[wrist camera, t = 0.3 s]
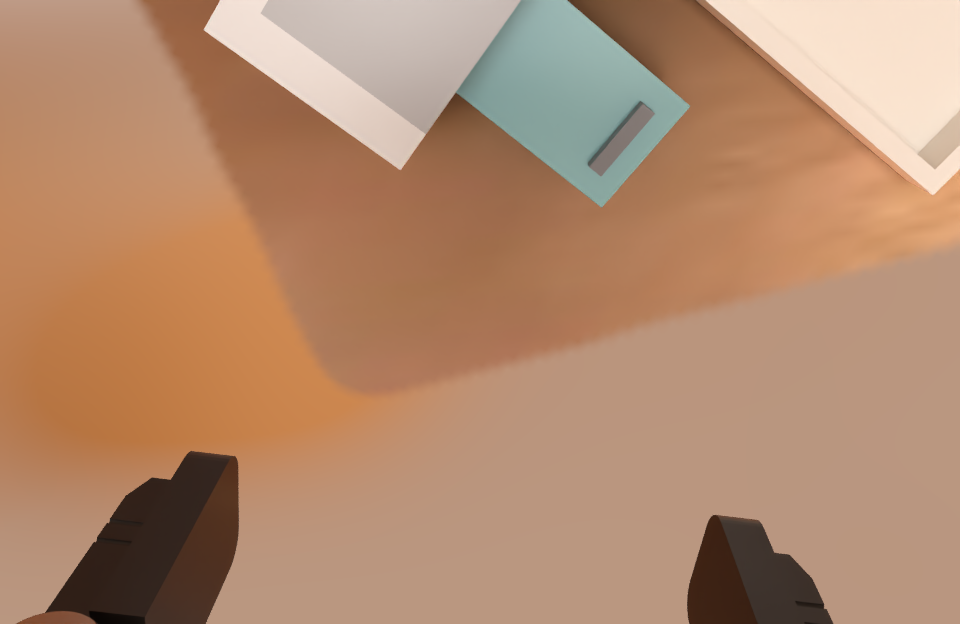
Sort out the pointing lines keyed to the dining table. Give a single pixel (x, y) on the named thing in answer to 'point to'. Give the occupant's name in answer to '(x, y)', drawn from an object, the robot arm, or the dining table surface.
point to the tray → (869, 71)
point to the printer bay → (365, 58)
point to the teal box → (571, 96)
